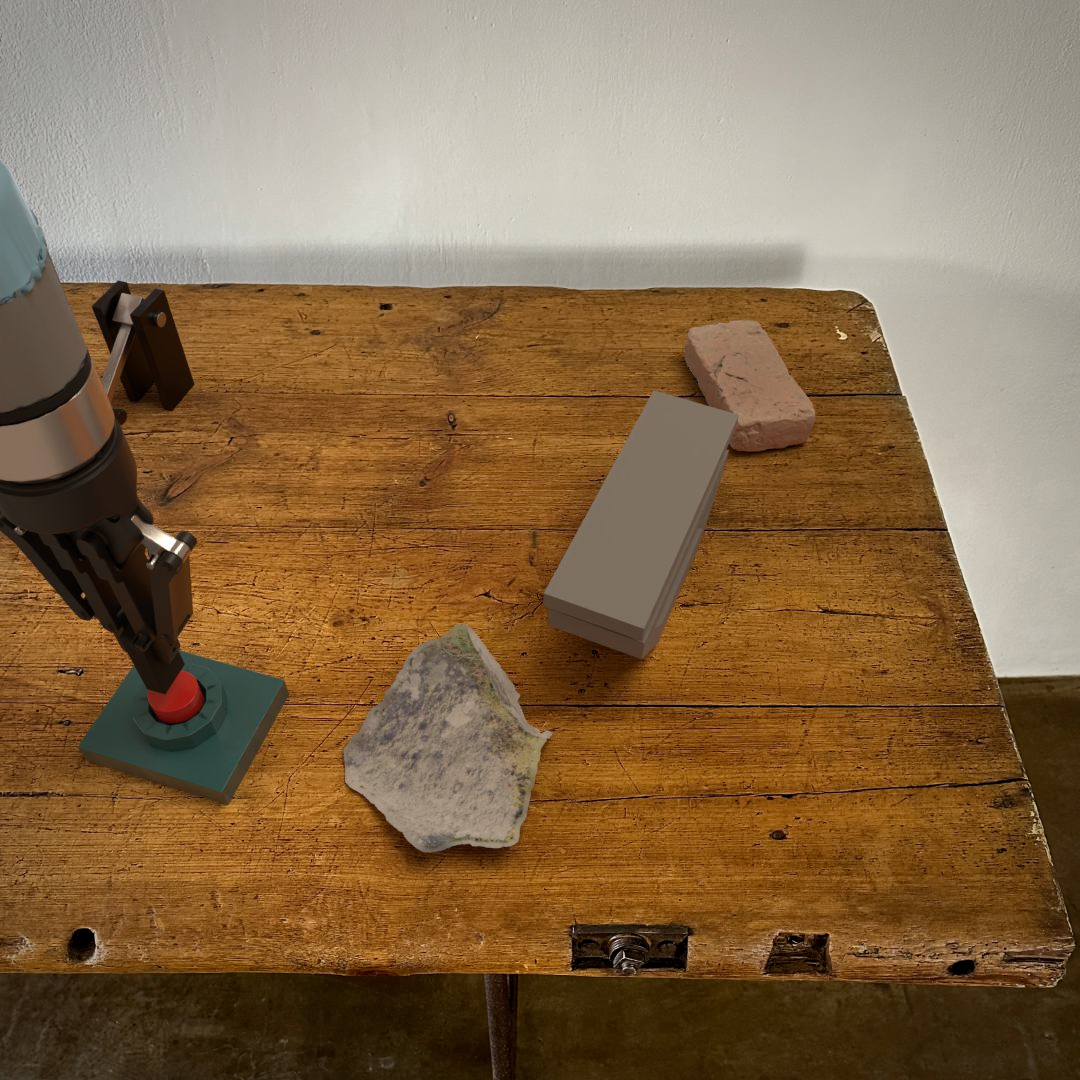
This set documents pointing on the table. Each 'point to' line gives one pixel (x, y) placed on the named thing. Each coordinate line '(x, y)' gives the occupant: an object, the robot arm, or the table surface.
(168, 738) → the control block
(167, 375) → the bracket
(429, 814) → the rock fragment
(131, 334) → the lever
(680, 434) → the sharpening stone
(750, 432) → the brick
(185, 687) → the button
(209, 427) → the table surface
